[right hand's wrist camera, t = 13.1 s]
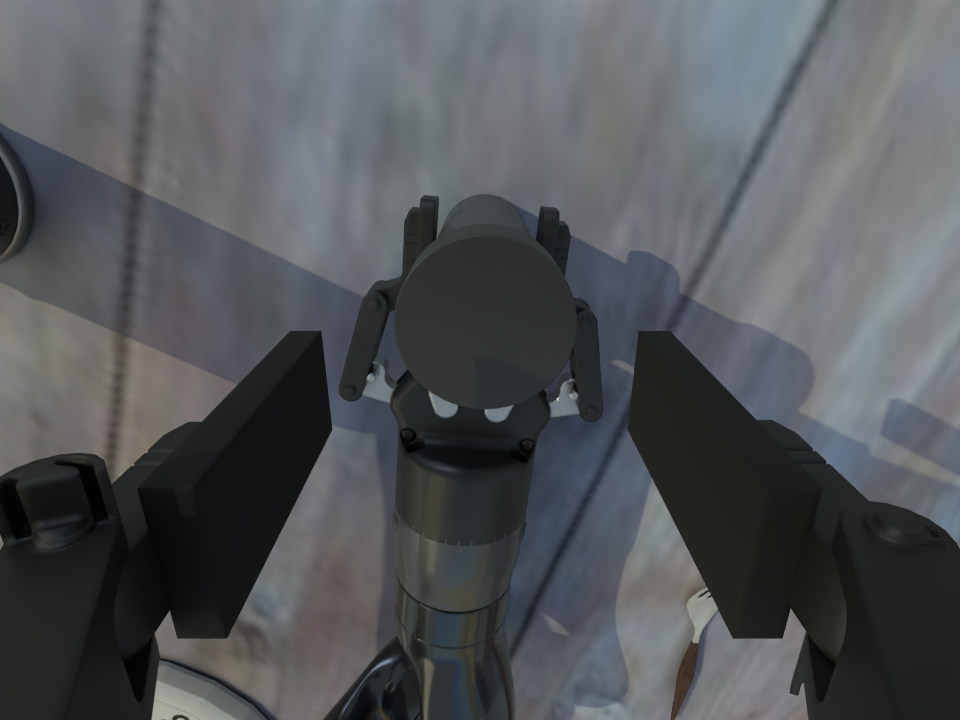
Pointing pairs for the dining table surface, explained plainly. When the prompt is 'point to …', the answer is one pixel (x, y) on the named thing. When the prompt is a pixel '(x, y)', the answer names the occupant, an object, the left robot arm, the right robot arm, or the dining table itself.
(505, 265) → the lid
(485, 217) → the dark grey cylinder
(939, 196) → the dining table surface
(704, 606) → the fork
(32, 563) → the right robot arm
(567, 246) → the left robot arm
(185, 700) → the wall clock
